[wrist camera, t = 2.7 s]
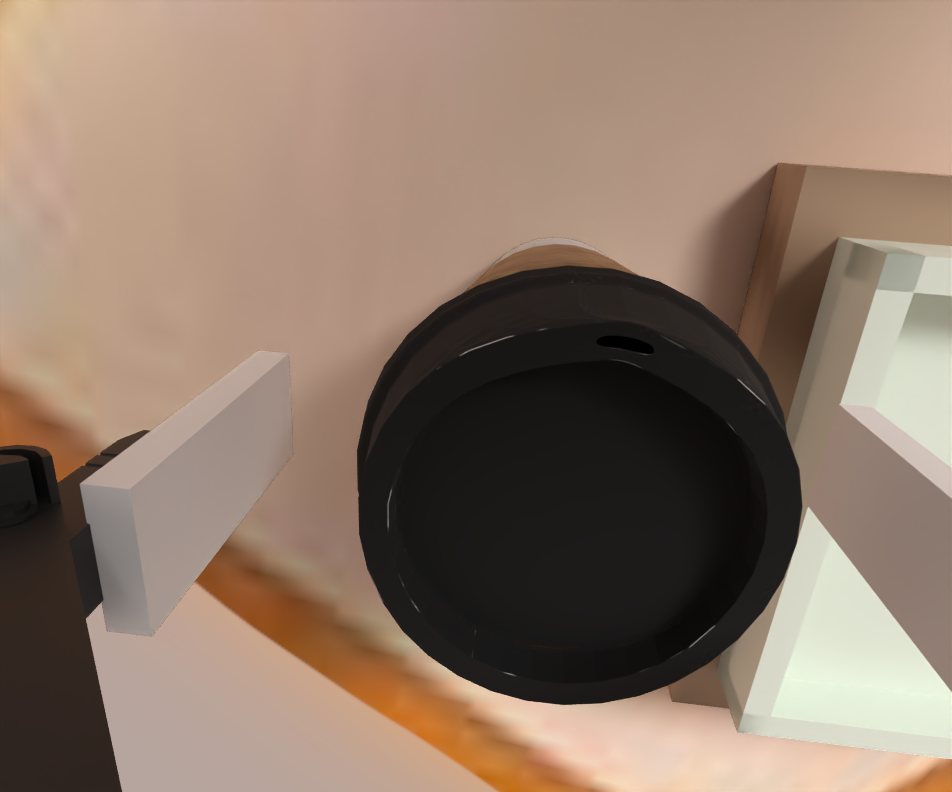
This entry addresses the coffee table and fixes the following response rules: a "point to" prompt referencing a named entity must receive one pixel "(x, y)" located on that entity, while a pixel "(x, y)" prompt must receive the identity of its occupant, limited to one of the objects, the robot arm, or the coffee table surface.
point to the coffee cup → (575, 481)
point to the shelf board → (817, 281)
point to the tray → (817, 554)
